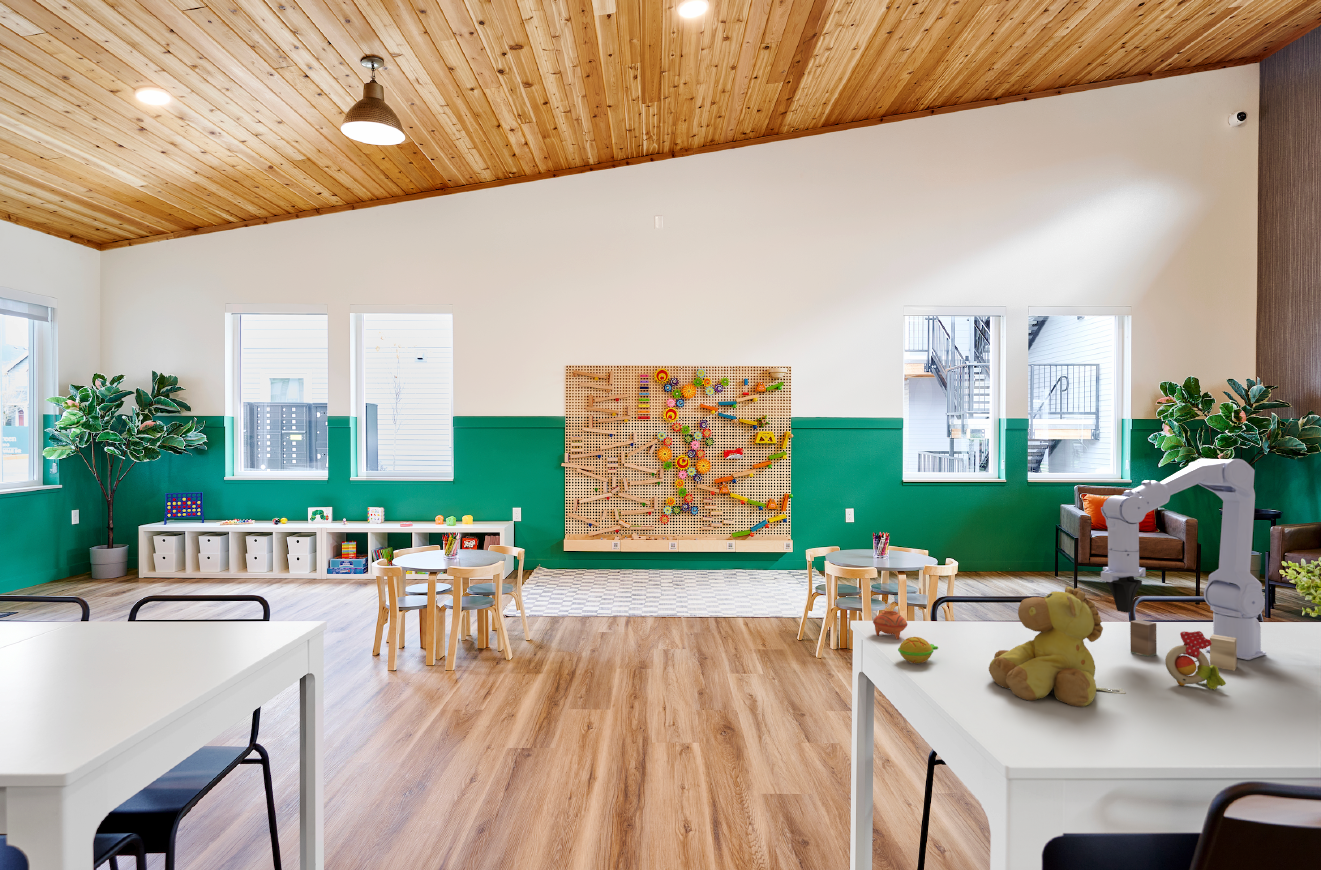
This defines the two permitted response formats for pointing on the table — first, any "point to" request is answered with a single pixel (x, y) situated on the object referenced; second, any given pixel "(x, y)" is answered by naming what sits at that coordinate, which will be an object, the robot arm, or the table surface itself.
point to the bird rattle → (1192, 662)
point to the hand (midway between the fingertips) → (1123, 611)
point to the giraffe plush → (1053, 650)
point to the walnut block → (1143, 638)
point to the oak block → (1223, 652)
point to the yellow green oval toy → (916, 650)
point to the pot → (889, 623)
